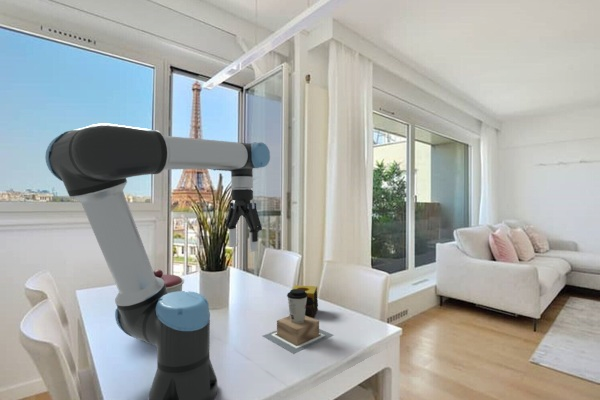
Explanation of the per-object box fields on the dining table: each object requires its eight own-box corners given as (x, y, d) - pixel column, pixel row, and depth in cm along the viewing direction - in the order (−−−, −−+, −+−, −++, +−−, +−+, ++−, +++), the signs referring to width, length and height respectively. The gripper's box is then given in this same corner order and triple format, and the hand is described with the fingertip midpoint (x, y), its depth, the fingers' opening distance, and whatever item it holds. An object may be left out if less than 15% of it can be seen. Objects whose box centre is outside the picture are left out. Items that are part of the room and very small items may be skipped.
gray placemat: (293, 355, 91) (293, 353, 91) (262, 337, 103) (262, 335, 103) (333, 336, 103) (333, 334, 103) (301, 322, 115) (301, 320, 115)
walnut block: (296, 345, 96) (296, 329, 96) (277, 335, 104) (276, 320, 104) (319, 335, 103) (319, 320, 103) (299, 326, 110) (298, 312, 110)
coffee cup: (289, 326, 99) (289, 295, 99) (285, 318, 106) (284, 288, 105) (310, 323, 101) (310, 293, 101) (304, 315, 107) (304, 287, 107)
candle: (314, 319, 118) (314, 293, 118) (289, 317, 120) (288, 292, 120) (318, 309, 128) (318, 286, 128) (294, 308, 130) (294, 284, 130)
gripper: (272, 188, 103) (272, 252, 103) (233, 189, 121) (233, 243, 121) (253, 188, 98) (253, 254, 98) (215, 189, 116) (216, 246, 116)
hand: (242, 248), depth 109 cm, fingers open, 13 cm apart
